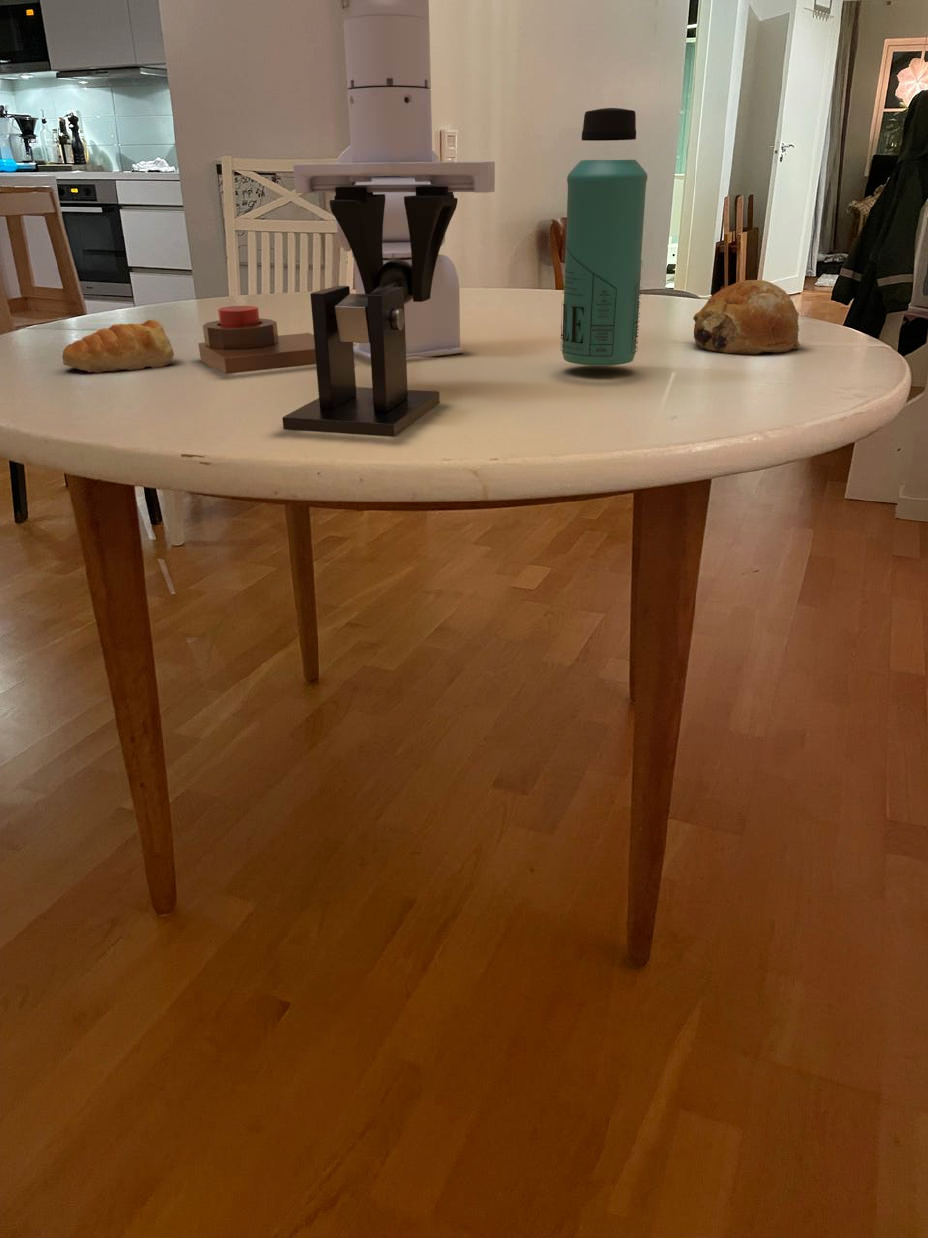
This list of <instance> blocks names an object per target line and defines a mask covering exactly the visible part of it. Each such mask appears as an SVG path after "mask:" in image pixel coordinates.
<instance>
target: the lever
mask: <svg viewBox="0 0 928 1238" xmlns="http://www.w3.org/2000/svg"><path fill="white" fill-rule="evenodd" d="M376 283H377V288H376V289H375V290H374V291H373V292H372V293H374V292H377V291H380V290H383V289H386V288H390V287H403V288H404V304H406V303H408V302H410V301H411V300H412V299H413V295H412V265H411V264H409V263H408V262H406V261H403V260H398V259H396V260H391V261H389V262H387V263H385V264H384V265H383V266H382V267H381V269H380V270H379V272H378V275H377V281H376ZM367 295H368V294H356V293H350V294H349V295H348V296H347V297H345V298H344V299H343V300H342V301H341V302H340V303H338V304H337V305H336V306H335V313H336V320H337V326H338V333H339V340H340V342H353V343H355V344H359V343H370V336H369V318H368V300H367Z"/></svg>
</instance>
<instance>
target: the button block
mask: <svg viewBox="0 0 928 1238" xmlns="http://www.w3.org/2000/svg"><path fill="white" fill-rule="evenodd" d="M259 321H260V324H259V325H254V326H244V327H224V326H220V321H219V320H212V321H208V322H205V324H203V325H202V329H203V337H204V342H198V351H199V357H200V362H201V363H203V364H204V365H206V366H208V367H210V368H211V369H212V368H216V369H218V370H220V371H221V372H223V373H224V374H227V375H228V374H236V373H244V372H255V371H264V370H273V369H282V368H291V367H303V366H309V365H311V366H312V365H316V355H315V343H314V333H310V332H303V333H292V334H291V333H290V334H281V335H279V332H278V322H277V321H275V320H273V319H270V318H260V317H259Z"/></svg>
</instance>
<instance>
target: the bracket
mask: <svg viewBox="0 0 928 1238" xmlns="http://www.w3.org/2000/svg"><path fill="white" fill-rule="evenodd" d="M349 294H351V289H350V286H349V285H335V286H330V287H327V288H324V289H321V290H317V291H313V292H311V293H310V305H311V306H310V307H311V317H312V331H313V335H314V343H315V355H316V364H315V365H316V378H317V392H318V398H316V399H314V400H312V401H311V402H308V403H306V404H304V405H303V406H301V407H299V408H297V409H295V410H293V411H292V412H290V413H288V414H286V415H284V416H282V428H283V430H288V431H300V432H301V431H303V432H315V433H316V432H317V433H330V434H331V433H332V434H346V435H362V436H378V437H392V438H394V437H396V436H397V435H399V434H400V433H401V432H404V430H405V429H407V428H408V427H409V426H410V425H412V424H413V423H415V422H416V421H417V420H419V419H420V418H421V417H422V416H424V415H425V414H426V413H428V412H430V410H432V409H433V408H435V407H436V406H438V405H439V403H440V402H441V401H440V391H436V390H421V389H419V390H417V389H408V365H407V357H406V337H405V311H404V288H403V287H390V288H386V289H383V290H380V291H377V292H374V293H371V294H368V295H367V300H368V318H369V336H370V353H371V359H370V370H371V386H372V387H364V386H363V387H361V386H357V384H356V383H357V381H356V367H355V354H354V349H353V344H354V342H340V340H339V333H338V326H337V320H336V313H335V306H336V305H337V304H338V303H340V302H341V301H342V300H343V299H344V298H345V297H347V296H348V295H349Z"/></svg>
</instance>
